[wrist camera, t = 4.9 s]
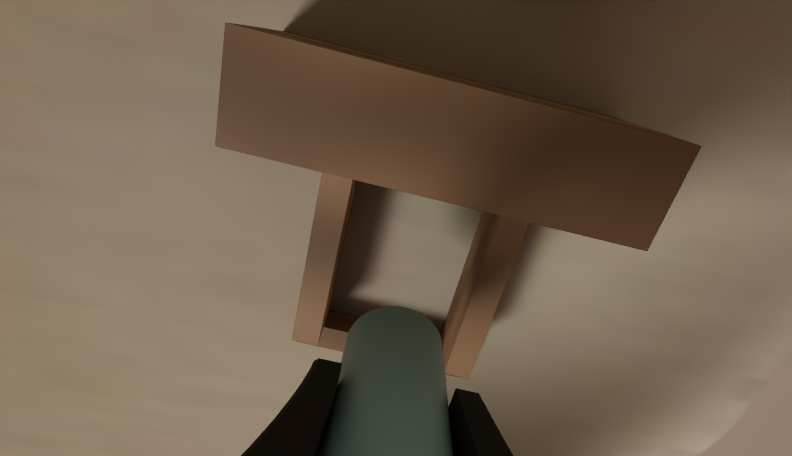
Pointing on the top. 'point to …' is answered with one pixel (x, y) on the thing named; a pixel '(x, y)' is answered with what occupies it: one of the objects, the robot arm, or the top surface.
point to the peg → (390, 389)
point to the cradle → (438, 164)
